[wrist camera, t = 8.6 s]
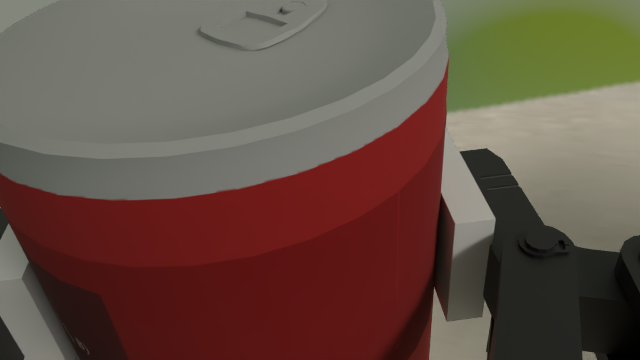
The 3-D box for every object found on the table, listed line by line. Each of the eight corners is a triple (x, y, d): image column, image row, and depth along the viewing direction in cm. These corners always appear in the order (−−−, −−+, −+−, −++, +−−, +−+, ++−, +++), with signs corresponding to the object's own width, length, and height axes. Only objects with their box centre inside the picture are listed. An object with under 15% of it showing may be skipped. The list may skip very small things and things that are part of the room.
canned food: (461, 342, 17) (505, -34, 11) (347, 637, 12) (294, 230, 5) (247, 268, 20) (180, -58, 14) (77, 474, 15) (-167, 92, 8)
